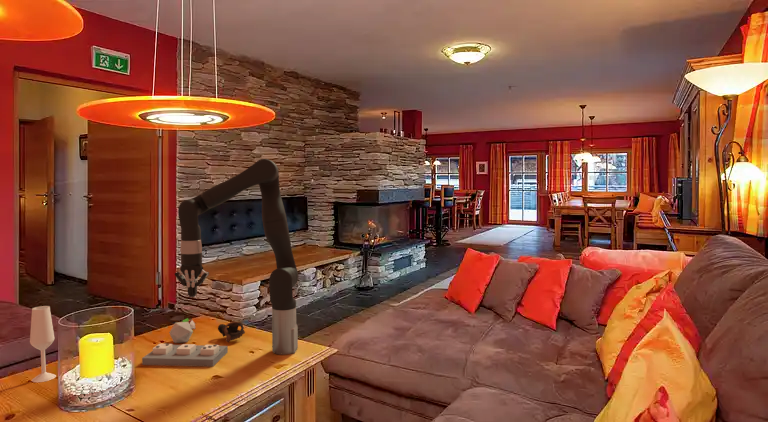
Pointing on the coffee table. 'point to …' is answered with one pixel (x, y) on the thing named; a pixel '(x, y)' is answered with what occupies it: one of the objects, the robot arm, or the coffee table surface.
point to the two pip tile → (162, 349)
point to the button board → (184, 358)
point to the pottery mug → (231, 330)
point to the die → (181, 332)
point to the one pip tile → (186, 349)
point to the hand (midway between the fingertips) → (192, 296)
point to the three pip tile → (210, 350)
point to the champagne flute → (42, 337)
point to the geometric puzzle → (190, 323)
